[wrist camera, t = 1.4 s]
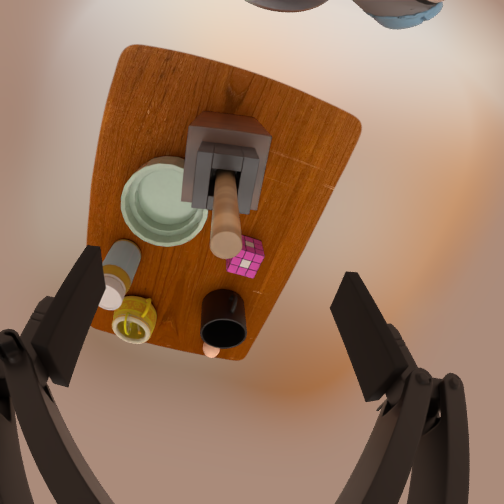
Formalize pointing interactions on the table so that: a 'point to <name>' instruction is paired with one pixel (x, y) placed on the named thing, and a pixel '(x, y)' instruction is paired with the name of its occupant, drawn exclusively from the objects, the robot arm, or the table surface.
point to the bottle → (119, 272)
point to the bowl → (160, 204)
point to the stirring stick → (225, 217)
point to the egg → (210, 350)
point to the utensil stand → (225, 158)
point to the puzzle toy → (247, 258)
